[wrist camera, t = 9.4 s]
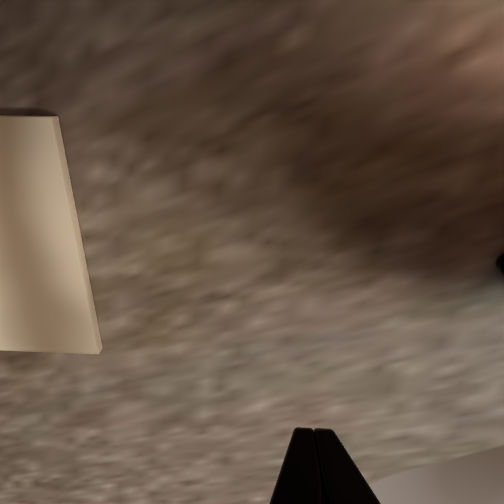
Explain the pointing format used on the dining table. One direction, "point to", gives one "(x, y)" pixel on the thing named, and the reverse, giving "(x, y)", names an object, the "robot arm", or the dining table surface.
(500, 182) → the dining table surface
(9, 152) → the base board
